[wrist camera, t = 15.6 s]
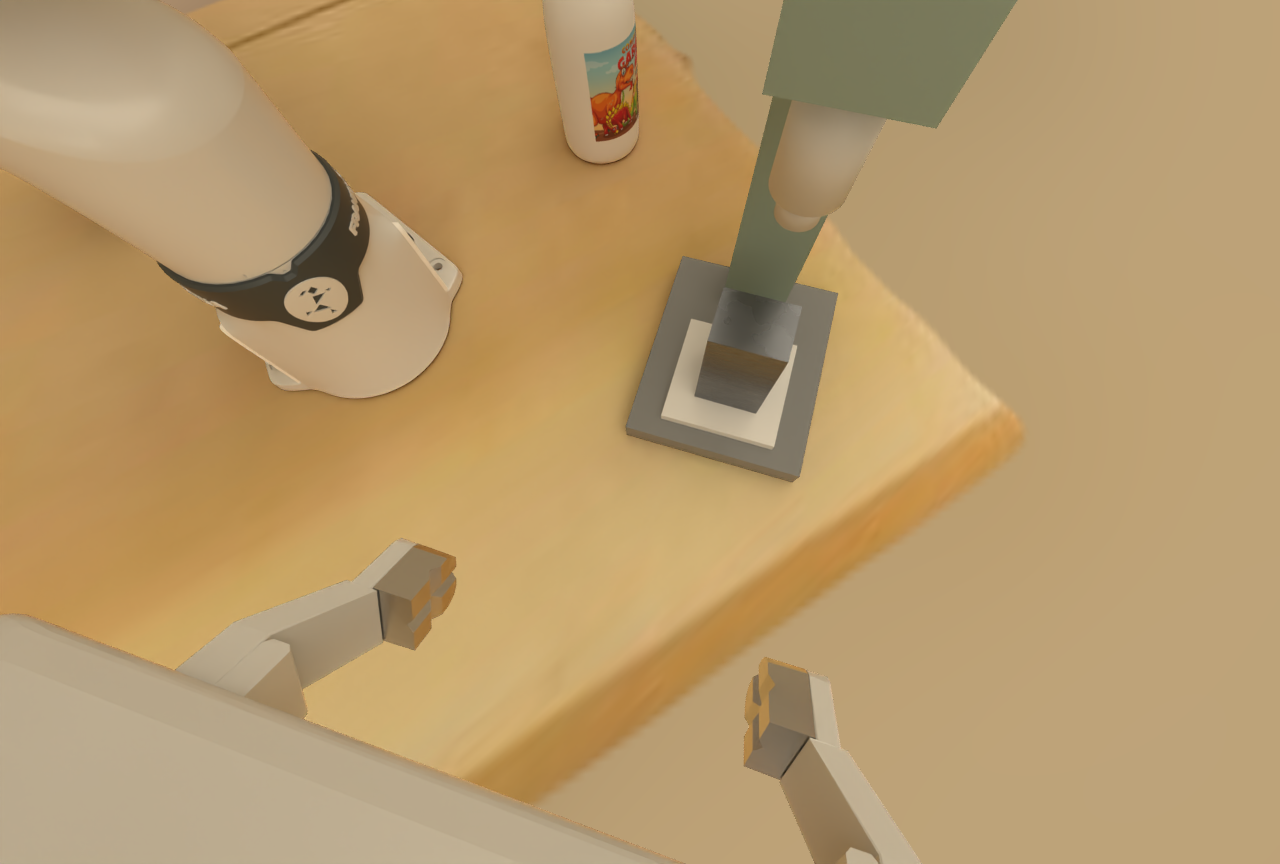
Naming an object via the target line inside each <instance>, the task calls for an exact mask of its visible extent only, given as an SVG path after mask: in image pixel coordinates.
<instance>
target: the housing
mask: <svg viewBox="0 0 1280 864" xmlns="http://www.w3.org/2000/svg"><path fill="white" fill-rule="evenodd" d="M801 309H802V307H801V306H797V305H793V304H790V303H786V302H782V301H778V300H774V299H770V298H766V297H762V296H758V295H754V294H750V293H746V292H742V291H738V290H734V289H730V288H726V287H724V288H723V291H722V295H721V298H720V301H719V304H718V308H717V311H716V314H715V317H714V321H713V324H712V327H711V330H710V334H709V337H708V340H707V344H706V349H705V353H704V357H703V361H702V366H701V370H700V374H699V378H698V383H697V387H696V391H695V395H694V396H695V397H698V398H702V399H705V400H709V401H712V402H716V403H719V404H723V405H726V406H730V407H733V408H737V409H741V410H744V411H748V412H751V413H755V414H756V413H757V411H758V410H759V408H760V407H761V405H762V403H763V402H764V400H765V399H766V397H767V396H768V394H769V392H770V391H771V389H772V388H773V386H774V385H775V383H776V381H777V380H778V378H779V377H780V375H781V373H782V372H783V370H784V369H785V367H786V366H787V364H788V362H789V358H790V354H791V350H792V346H793V342H794V338H795V334H796V330H797V326H798V321H799V317H800V313H801Z"/></svg>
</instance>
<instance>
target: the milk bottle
mask: <svg viewBox="0 0 1280 864" xmlns="http://www.w3.org/2000/svg"><path fill="white" fill-rule="evenodd" d="M543 15H544V24H545V30H546V36H547V43H548V48H549V54H550V59H551V64H552V70H553V75H554V81H555V86H556V91H557V96H558V101H559V106H560V112H561V117H562V122H563V127H564V132H565V136H566V141H567V144H568V146H569V147H570V149H571V150H572V151H573V152H574V153H575V155H576V156H578V157H579V158H581V159H583V160H585V161H587V162H591V163H598V164H603V163H611V162H615V161H617V160H620V159H622V158H623V157H625V156H626V155H628V154H629V153H630V152H631V151H632V149H633V148H634V146H635V144H636V142H637V139H638V135H639V112H638V76H637V47H636V26H635V10H634V3H633V0H543Z"/></svg>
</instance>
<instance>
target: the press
mask: <svg viewBox="0 0 1280 864" xmlns="http://www.w3.org/2000/svg"><path fill="white" fill-rule="evenodd" d="M1016 1H1017V0H784V1H783V6H782V10H781V14H780V19H779V23H778V27H777V32H776V36H775V41H774V45H773V49H772V54H771V58H770V62H769V67H768V71H767V76H766V80H765V84H764V89H763V93H762V94H764V95H769V96H773V98H772V102H771V106H770V110H769V114H768V119H767V122H766V126H765V131H764V134H763V138H762V142H761V146H760V150H759V154H758V158H757V162H756V166H755V170H754V174H753V178H752V182H751V186H750V190H749V194H748V197H747V201H746V205H745V209H744V213H743V217H742V221H741V225H740V229H739V233H738V237H737V241H736V245H735V249H734V253H733V257H732V261H731V265H730V267H727V266H722V265H718V264H714V263H710V262H706V261H702V260H697V259H693V258H689V257H685V256H683V257H682V260H681V263H680V266H679V269H678V272H677V275H676V278H675V281H674V284H673V287H672V290H671V293H670V296H669V299H668V302H667V305H666V308H665V311H664V314H663V317H662V320H661V323H660V326H659V329H658V332H657V335H656V338H655V341H654V344H653V347H652V350H651V353H650V355H649V358H648V361H647V364H646V367H645V370H644V373H643V376H642V379H641V382H640V385H639V388H638V391H637V394H636V397H635V400H634V403H633V406H632V409H631V412H630V415H629V418H628V421H627V424H626V432H627V435H631V436H634V437H638V438H641V439H645V440H648V441H651V442H655V443H658V444H662V445H665V446H669V447H672V448H676V449H679V450H683V451H686V452H690V453H693V454H696V455H700V456H703V457H707V458H710V459H714V460H717V461H721V462H724V463H728V464H731V465H735V466H738V467H741V468H745V469H748V470H752V471H755V472H759V473H762V474H766V475H769V476H773V477H776V478H780V479H783V480H787V481H790V482H793V481H794V480H796V479H797V478H799V477H800V472H801V468H802V463H803V458H804V453H805V448H806V444H807V439H808V434H809V429H810V425H811V420H812V415H813V410H814V406H815V401H816V396H817V391H818V386H819V382H820V377H821V372H822V367H823V363H824V358H825V353H826V348H827V343H828V339H829V334H830V329H831V324H832V320H833V315H834V310H835V305H836V300H837V296H838V293H835V292H831V291H826V290H822V289H818V288H814V287H810V286H806V285H801V284H797V283H795V282H796V280H797V277H798V275H799V273H800V271H801V269H802V267H803V265H804V263H805V261H806V259H807V257H808V255H809V253H810V251H811V249H812V247H813V244H814V242H815V240H816V238H817V236H818V234H819V232H820V230H821V228H822V226H823V224H824V222H825V220H826V218H827V216H828V214H831V213H833V212H834V211H836V210H837V209H839V208H840V207H841V206H842V204H843V203H844V202H845V200H846V198H847V196H848V194H849V192H850V190H851V188H852V186H853V184H854V182H855V180H856V178H857V176H858V174H859V172H860V170H861V168H862V167H863V164H864V163H865V161H866V158H867V157H868V155H869V153H870V151H871V149H872V147H873V145H874V143H875V141H876V139H877V137H878V135H879V133H880V131H881V129H882V127H883V125H884V124H885V122H886V120H887V119H891V120H896V121H901V122H906V123H912V124H917V125H922V126H927V127H932V128H937V127H938V125H939V123H940V122H941V120H942V118H943V117H944V115H945V114H946V112H947V111H948V109H949V107H950V106H951V104H952V103H953V101H954V100H955V98H956V96H957V95H958V93H959V92H960V90H961V88H962V87H963V85H964V84H965V82H966V81H967V79H968V78H969V76H970V74H971V73H972V71H973V69H974V68H975V66H976V65H977V63H978V62H979V60H980V58H981V57H982V55H983V54H984V52H985V51H986V49H987V47H988V46H989V44H990V43H991V41H992V40H993V38H994V36H995V35H996V33H997V31H998V30H999V28H1000V27H1001V25H1002V24H1003V22H1004V21H1005V19H1006V17H1007V16H1008V14H1009V13H1010V11H1011V9H1012V8H1013V6H1014V5H1015V3H1016ZM724 287H726V288H730V289H734V290H738V291H742V292H746V293H750V294H754V295H758V296H762V297H766V298H770V299H774V300H778V301H782V302H786V303H790V304H793V305H797V306H801V307H802V309H801V313H800V317H799V321H798V326H797V330H796V334H795V338H794V342H793V346H792V350H791V354H790V358H789V362H788V364H787V366H786V367H785V369H784V370H783V372H782V373H781V375H780V377H779V378H778V380H777V381H776V383H775V385H774V386H773V388H772V389H771V391H770V392H769V394H768V396H767V397H766V399H765V400H764V402H763V403H762V405H761V407H760V408H759V410H758V411H757V413H756V414H755V413H751V412H748V411H744V410H741V409H737V408H733V407H730V406H726V405H723V404H719V403H716V402H712V401H709V400H705V399H702V398H698V397H695V396H694V395H695V391H696V387H697V383H698V378H699V374H700V370H701V366H702V361H703V357H704V353H705V349H706V344H707V340H708V337H709V334H710V330H711V327H712V324H713V321H714V317H715V314H716V311H717V308H718V304H719V301H720V298H721V295H722V291H723V288H724Z"/></svg>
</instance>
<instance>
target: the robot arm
mask: <svg viewBox="0 0 1280 864" xmlns="http://www.w3.org/2000/svg"><path fill="white" fill-rule="evenodd" d="M0 168H1V169H3V170H5V171H7V172H9V173H11V174H12V175H14V176H16V177H18V178H20V179H22V180H24V181H25V182H27V183H29V184H31V185H33V186H34V187H36V188H38V189H39V190H41V191H43V192H44V193H46V194H48V195H49V196H51V197H53V198H54V199H56V200H58V201H60V202H61V203H63V204H65V205H66V206H68V207H70V208H71V209H73V210H75V211H76V212H78V213H80V214H81V215H83V216H85V217H86V218H88V219H90V220H91V221H93V222H95V223H96V224H98V225H100V226H101V227H103V228H105V229H106V230H108V231H110V232H111V233H113V234H114V235H116V236H118V237H119V238H121V239H123V240H124V241H126V242H127V243H129V244H131V245H132V246H134V247H136V248H137V249H139V250H140V251H142V252H144V253H145V254H147V255H148V256H150V257H151V258H153V259H155V260H156V261H157V263H158V264H159V266H160V267H161V268H162V270H163V271H164V272H165V273H166V274H167V275H168V276H169V277H171V278H172V279H173V280H175V281H176V282H177V283H179V284H180V285H181V286H182V287H183V288H184V289H185V290H187V291H188V292H189V293H191V294H192V295H194V296H195V297H197V298H198V299H200V300H201V301H203V302H205V303H207V304H210V305H212V306H214V307H216V312H217V316H218V318H219V321H220V322H221V324H220V326H219V327H220V329H221V330H222V331H223V332H224V333H225V334H226V335H227V336H228V337H230V338H231V339H233V340H234V341H236V342H237V343H239V344H240V345H242V346H243V347H245V348H246V349H248V350H249V351H251V352H252V353H254V354H255V355H257V356H258V357H260V358H261V359H263V360H264V361H265V364H266V367H267V371H268V375H269V378H270V380H271V382H272V383H273V384H275V385H276V386H277V387H279V388H280V389H283V390H287V391H297V390H308V389H314V390H319V391H322V392H325V393H328V394H331V395H334V396H338V397H344V398H367V397H373V396H378V395H382V394H385V393H388V392H390V391H393V390H395V389H397V388H399V387H401V386H403V385H405V384H407V383H408V382H410V381H411V380H413V379H414V378H415V377H417V376H418V375H419V374H420V373H421V372H423V371H424V370H425V369H426V368H427V367H428V366H429V364H430V363H431V362H432V361H433V360H434V358H435V357H436V356H437V354H438V353H439V351H440V349H441V347H442V346H443V343H444V341H445V339H446V336H447V333H448V329H449V324H450V311H451V303H452V300H453V298H454V296H455V294H456V293H457V291H458V289H459V287H460V285H461V282H462V273H461V271H460V270H459V269H458V268H457V267H456V265H455V264H453V263H452V262H451V261H450V260H449V259H447V258H446V257H445V256H444V255H442V254H441V253H440V252H439V251H437V250H436V249H435V248H434V247H432V246H431V245H430V244H429V243H428V242H426V241H425V240H424V239H423V238H421V237H420V236H419V235H418V234H416V233H415V232H414V231H413V230H412V229H410V228H409V227H408V226H407V225H405V224H404V223H403V222H402V221H400V220H399V219H398V218H397V217H395V216H394V215H393V214H392V213H391V212H389V211H388V210H387V209H386V208H384V207H383V206H382V205H381V204H379V203H378V202H377V201H376V200H374V199H373V198H372V197H371V196H369V195H368V194H366V193H363V192H358V193H354V192H353V191H352V189H351V188H350V186H349V185H348V184H347V183H346V181H345V180H344V179H343V178H342V176H341V175H340V174H339V173H338V172H337V171H336V170H334V169H333V168H332V167H331V166H330V165H329V164H328V163H327V161H326V160H325V159H324V158H322V157H321V156H320V155H318V154H317V153H315V152H313V151H312V150H310V149H309V148H308V147H307V146H306V144H305V143H304V142H303V141H302V139H301V138H300V137H299V136H298V134H297V133H296V132H295V130H294V129H293V128H292V127H291V125H290V124H289V123H288V122H287V120H286V119H285V118H284V117H283V115H282V114H281V113H280V111H279V110H278V109H277V108H276V106H275V105H274V104H273V103H272V101H271V100H270V99H269V98H268V96H267V95H266V94H265V93H264V91H263V90H262V89H261V88H260V86H259V85H258V84H257V83H256V81H255V80H254V79H253V77H252V76H251V75H250V74H249V72H248V71H247V70H246V69H245V67H244V66H243V65H242V64H241V62H240V61H239V60H238V59H237V57H236V56H235V55H234V54H233V53H232V51H231V50H230V49H229V48H228V47H227V46H225V45H224V44H223V43H222V42H221V41H220V40H219V39H217V38H216V37H215V36H214V35H212V34H211V33H210V32H209V31H207V30H206V29H205V28H204V27H202V26H201V25H200V24H198V23H197V22H195V21H194V20H192V19H191V18H190V17H188V16H187V15H185V14H184V13H182V12H180V11H179V10H177V9H175V8H174V7H172V6H170V5H168V4H166V3H164V2H162V1H160V0H0ZM439 268H442V269H441V270H438V269H439ZM437 270H438V271H437ZM455 567H456V557H454V556H451V555H449V554H446V553H443V552H440V551H437V550H435V549H432V548H429V547H426V546H423V545H421V544H418V543H415V542H412V541H409V540H406V539H403V538H401V539H398V540H396V541H394V542H393V543H392V544H391V545H390V546H389V547H388V548H387V549H386V550H385V551H384V552H383V553H382V554H381V555H379V556H378V557H377V558H376V559H375V560H374V561H373V562H372V563H371V564H370V565H369V566H368V567H367V568H366V569H365V570H364V571H363V572H362V573H360V574H359V575H358V576H357V577H356V578H355V579H354V580H353V581H352V582H351V581H348V580H345V581H343V582H340V583H337V584H335V585H332V586H329V587H327V588H324V589H321V590H319V591H316V592H313V593H311V594H308V595H305V596H303V597H300V598H297V599H294V600H292V601H289V602H286V603H284V604H281V605H278V606H276V607H273V608H270V609H268V610H265V611H262V612H260V613H257V614H254V615H252V616H249V617H246V618H244V619H241V620H238V621H236V622H233V623H232V624H231V625H230V626H228V627H227V628H226V629H225V630H224V631H222V632H221V633H220V634H219V635H217V636H216V637H215V638H214V639H212V640H211V641H210V642H209V643H208V644H206V645H205V646H204V647H203V648H201V649H200V650H199V651H198V652H196V653H195V654H194V655H193V656H191V657H190V658H189V659H188V660H187V661H185V662H184V663H183V664H182V665H180V666H179V667H178V668H177V669H175V670H172V669H170V668H167V667H164V666H162V665H159V664H156V663H154V662H151V661H149V660H146V659H143V658H141V657H138V656H135V655H133V654H130V653H127V652H125V651H122V650H120V649H117V648H114V647H112V646H109V645H106V644H104V643H101V642H98V641H96V640H93V639H91V638H88V637H85V636H83V635H80V634H77V633H75V632H72V631H69V630H67V629H64V628H62V627H59V626H57V625H54V624H51V623H49V622H46V621H44V620H41V619H38V618H35V617H32V616H29V615H24V614H3V615H0V864H685V863H682V862H679V861H677V860H674V859H671V858H669V857H666V856H663V855H661V854H658V853H656V852H653V851H650V850H647V849H645V848H643V847H640V846H637V845H635V844H632V843H629V842H627V841H624V840H621V839H619V838H616V837H613V836H611V835H608V834H605V833H603V832H600V831H598V830H595V829H592V828H590V827H587V826H585V825H582V824H579V823H576V822H574V821H571V820H569V819H566V818H563V817H561V816H558V815H556V814H553V813H550V812H547V811H545V810H542V809H540V808H537V807H534V806H532V805H529V804H527V803H524V802H521V801H519V800H516V799H513V798H511V797H508V796H505V795H503V794H500V793H497V792H495V791H492V790H490V789H487V788H484V787H482V786H479V785H476V784H474V783H471V782H468V781H466V780H463V779H461V778H458V777H455V776H453V775H450V774H447V773H445V772H442V771H439V770H437V769H434V768H431V767H429V766H426V765H424V764H421V763H418V762H416V761H413V760H410V759H408V758H405V757H402V756H400V755H397V754H394V753H392V752H389V751H386V750H384V749H381V748H379V747H376V746H373V745H371V744H368V743H365V742H363V741H360V740H357V739H355V738H352V737H349V736H347V735H344V734H342V733H339V732H336V731H334V730H331V729H328V728H326V727H323V726H320V725H318V724H315V723H312V722H310V721H307V720H305V719H303V718H304V717H305V716H306V715H307V704H306V701H305V697H304V694H303V690H302V689H304V688H306V687H307V686H309V685H311V684H313V683H314V682H316V681H318V680H319V679H321V678H323V677H325V676H326V675H328V674H330V673H331V672H333V671H335V670H337V669H338V668H340V667H342V666H343V665H345V664H347V663H349V662H350V661H352V660H354V659H356V658H357V657H359V656H361V655H362V654H364V653H366V652H368V651H369V650H371V649H373V648H374V647H376V646H378V645H380V644H381V643H383V641H387V642H390V643H393V644H396V645H399V646H402V647H405V648H409V649H412V650H416V648H417V647H418V646H419V644H420V643H421V642H422V640H423V639H424V638H425V636H426V635H427V634H428V632H429V631H430V630H431V619H433V618H435V617H437V616H439V615H442V614H443V612H444V611H445V610H446V608H447V607H448V605H449V604H450V602H451V600H452V597H453V595H454V593H455V588H456V578H455V576H454V575H453V573H452V571H453V570H454V569H455ZM745 719H746V721H747V723H748V725H749V728H748V730H747V732H746V734H745V736H744V766H745V767H748V768H750V769H753V770H755V771H758V772H761V773H763V774H766V775H768V776H771V777H774V778H776V779H779V780H780V785H781V787H782V789H783V792H784V794H785V796H786V798H787V801H788V803H789V805H790V808H791V810H792V812H793V814H794V817H795V819H796V821H797V824H798V826H799V828H800V830H801V833H802V835H803V837H804V840H805V842H806V844H807V847H808V849H809V851H810V853H811V856H812V858H813V860H814V863H815V864H922V863H921V861H920V860H919V858H918V857H917V855H916V854H915V852H914V851H913V849H912V848H911V846H910V845H909V843H908V842H907V840H906V839H905V837H904V836H903V834H902V833H901V831H900V830H899V828H898V827H897V825H896V824H895V822H894V821H893V819H892V817H891V816H890V814H889V813H888V811H887V810H886V808H885V807H884V805H883V804H882V802H881V801H880V799H879V798H878V796H877V795H876V793H875V792H874V790H873V789H872V787H871V785H870V784H869V782H868V781H867V779H866V778H865V776H864V775H863V773H862V772H861V770H860V769H859V767H858V766H857V764H856V763H855V761H854V760H853V758H852V757H851V755H850V754H849V752H848V751H847V750H845V749H842V748H841V746H840V740H839V733H838V727H837V721H836V715H835V708H834V702H833V696H832V690H831V684H830V681H829V679H828V677H826V676H823V675H820V674H817V673H814V672H811V671H808V670H805V669H803V668H799V667H796V666H793V665H790V664H787V663H783V662H780V661H777V660H773V659H771V658H767V657H764V658H763V659H762V660H761V662H760V664H759V675H756V676H754V677H753V678H752V680H751V682H750V685H749V687H748V691H747V695H746V701H745Z"/></svg>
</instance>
